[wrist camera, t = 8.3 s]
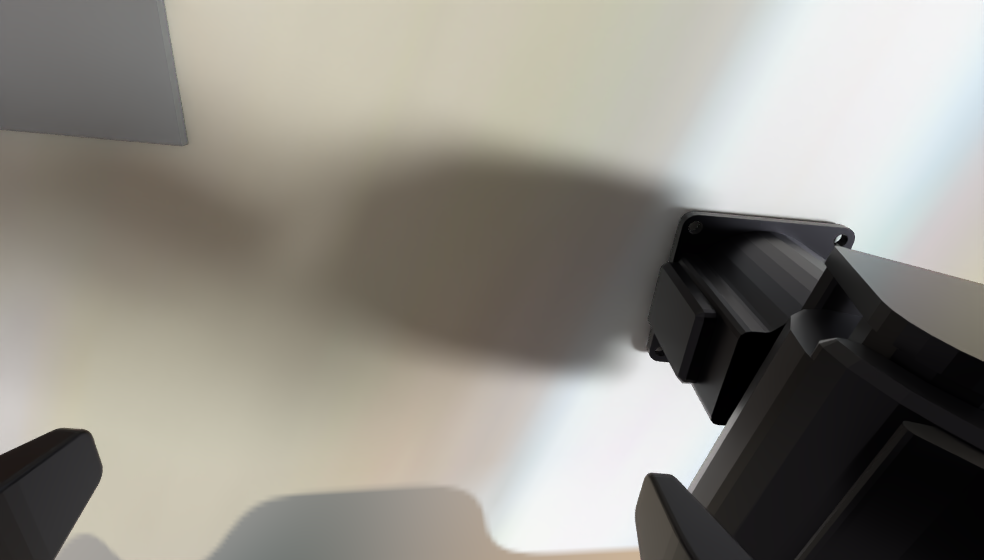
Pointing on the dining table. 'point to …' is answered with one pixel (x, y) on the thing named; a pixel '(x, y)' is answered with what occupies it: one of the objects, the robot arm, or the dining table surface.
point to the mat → (89, 70)
